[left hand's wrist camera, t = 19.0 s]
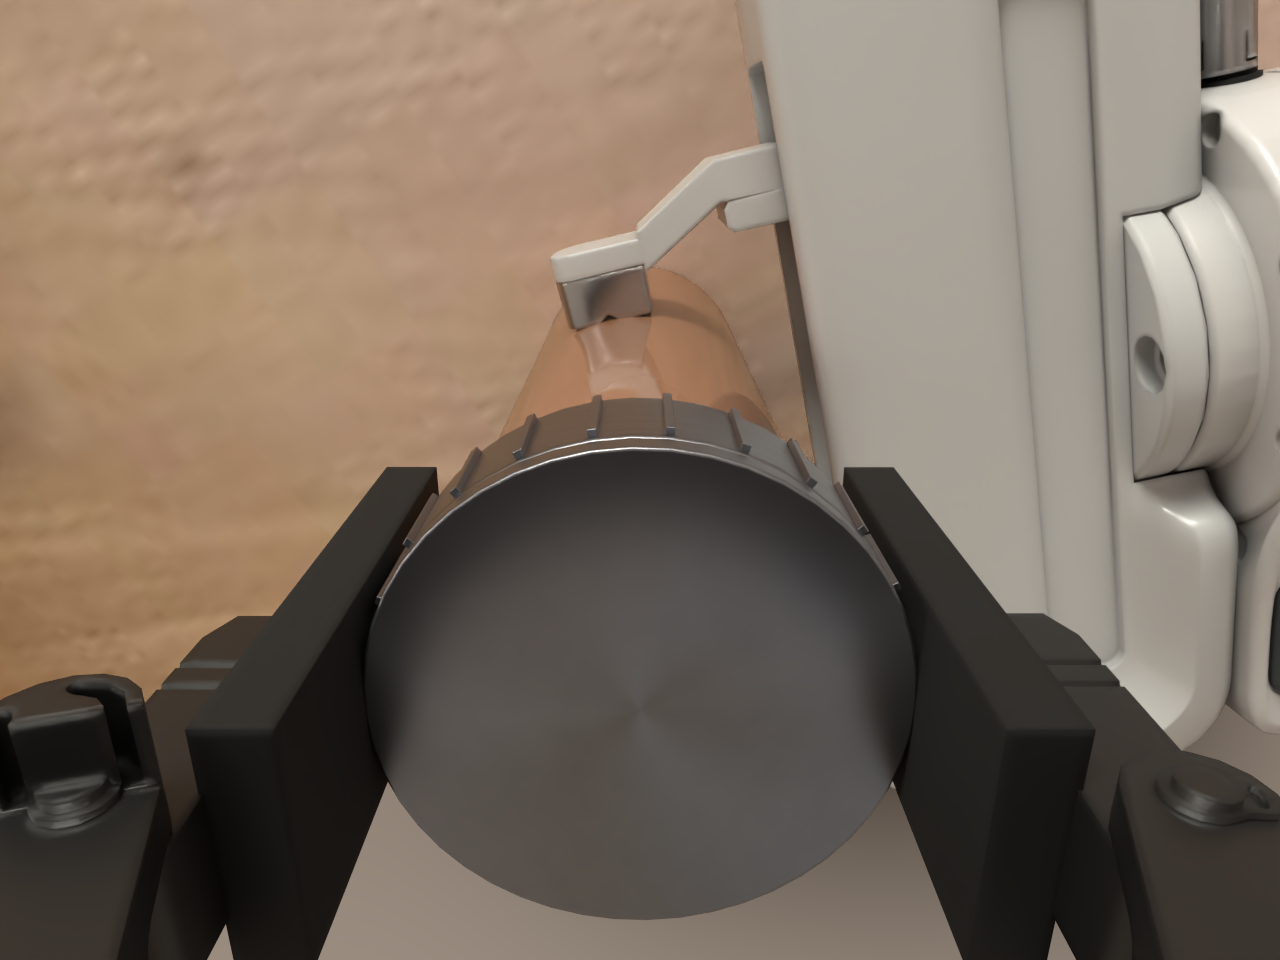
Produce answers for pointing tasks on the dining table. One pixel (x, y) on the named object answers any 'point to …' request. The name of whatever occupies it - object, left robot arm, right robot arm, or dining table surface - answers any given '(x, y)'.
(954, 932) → the left robot arm
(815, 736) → the lid
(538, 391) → the jar
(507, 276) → the dining table surface
